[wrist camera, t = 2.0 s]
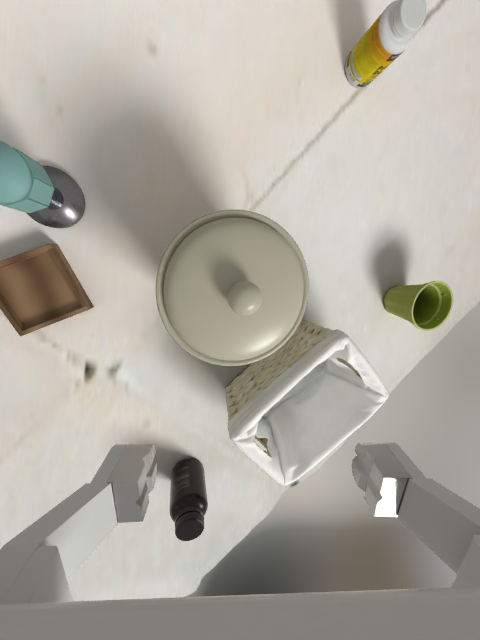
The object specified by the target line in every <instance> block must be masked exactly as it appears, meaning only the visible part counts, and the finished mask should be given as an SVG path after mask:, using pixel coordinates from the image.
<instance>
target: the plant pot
mask: <svg viewBox="0 0 480 640" xmlns="http://www.w3.org/2000/svg"><path fill="white" fill-rule="evenodd" d="M384 304H385V309H386V310H387V311H388V312H389V313H392V314H394V315H396V316H399V317H401V318H403V319H405V320H408V321H410V322H411V323H412V324H414V325H415V326H416V327H417V328H418V329H421V330H424V331H429V330H433V329H436V328H437V327H439V326H440V325H441V324H443V322H444V321H445V320H446V319H447V317H448V316H449V314H450V312H451V309H452V305H453V294H452V291H451V289H450V287H449V286H448V285H447V284H446V283H444V282H441V281H433V282H429V283H426V284H423V285H405V286H395V287H393V288H391V289H389V290H388V292H387V293H386V295H385V297H384Z"/></svg>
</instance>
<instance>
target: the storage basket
mask: <svg viewBox="0 0 480 640" xmlns="http://www.w3.org/2000/svg"><path fill="white" fill-rule="evenodd" d="M352 366H353V367H354V368H355V369H356V370H355V369H354V368H353V367H352ZM225 391H226V402H227V411H228V417H229V418H228V430H229V435H230V439H231V440H232V441H233V442H234V444H235V445H236V446H237V447H238V448H239V449H240V450H241V451H243V452H244V453H245V454H246V455H247V456H248V457H249V458H250V459H251V460H253V461H254V462H255V463H256V464H257V465H258V466H260V467H261V468H262V469H263V470H264V471H265V472H266V473H267V474H269V475H270V476H271V477H272V478H273V479H275V480H276V481H277V482H279V483H280V484H282V485H287V484H290V483H292V482H294V481H296V480H297V479H298V478H300V477H301V476H302V475H304V474H305V473H306V472H307V471H309V470H310V469H311V468H312V467H314V466H315V465H316V464H317V463H318V462H320V461H321V460H322V459H323V458H324V457H325V456H326V455H328V454H329V453H330V452H331V451H332V450H333V449H334V448H335V447H336V446H338V445H339V444H340V443H341V442H342V441H343V440H345V439H346V438H347V437H348V436H349V435H350V434H352V433H353V432H354V431H355V430H356V429H358V428H359V427H360V426H361V425H362V424H363V423H365V422H366V421H367V420H368V419H369V418H370V417H371V416H372V415H373V414H374V413H375V412H376V411H377V410H378V408H379V407H380V406H381V405H382V404H383V403H384V402H385V401H386V399H387V398H388V396H389V394H388V392H387V390H386V389H385V387H384V385H383V383H382V381H381V380H380V378H379V377H378V375H377V373H376V372H375V370H374V369H373V368H372V366H371V365H370V363H369V362H368V360H367V359H366V358H365V356H364V355H363V354H362V352H361V351H360V350H359V348H358V347H357V346H356V345H355V344H354V343H353V341H352V340H351V339H350V338H349V336H348V335H347V334H345V333H344V332H342V331H340V330H337V329H336V330H334V331H333V330H331V329H327V328H326V329H325V328H323V327H320V326H317V325H315V324H313V323H309V322H305V321H302V322H300V324H299V326H298V327H297V329H296V331H295V332H294V333H293V335H292V336H291V337H290V338H289V340H288V341H287V342H286V343H285V344H284V345H283V346H282V347H280V348H279V349H278V350H277V351H275V352H274V353H272V354H271V355H269V356H267V357H266V358H264V359H261V360H259V361H256V362H253V363H251V364H250V366H249V367H247V369H246V370H245V371H244V372H243V373H242V374H241V375H240V376H239V375H238V377H236V378H235V379H234V380H233V382H232V383H230V384H229V385H228V386H227V387H226V388H225ZM254 438H255V439H257V440H258V441H259V442H260V443H261V444H262V445H263V446H264V447H265V448H266V449H267V452H266V451H262V450H261V449H260V448H259V446H258V445H257V444H256V443H255V441H254ZM266 453H267V454H268V455H267V454H266Z"/></svg>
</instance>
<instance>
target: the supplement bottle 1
mask: <svg viewBox="0 0 480 640" xmlns="http://www.w3.org/2000/svg"><path fill="white" fill-rule="evenodd" d="M207 507H208V502H207V493H206V484H205V475H204V468H203V465H202V464H201V463H200V462H199V461H198V460H195V459H185V460H183V461H180V462H179V463H178V464H177V465H176V466H175V467H174V468H173V470H172V474H171V493H170V516H171V518H172V520H173V521H174V522H175V534H176V536H177V538H178V539H180V540H182V541H189V540H193V539H195V538H197V537H198V536H199V535H201V533H202V531H203V529H204V515H205V513H206V511H207Z"/></svg>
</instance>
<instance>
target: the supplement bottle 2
mask: <svg viewBox="0 0 480 640" xmlns="http://www.w3.org/2000/svg"><path fill="white" fill-rule="evenodd" d="M425 16H426V2H425V0H397V1H394V2H392V3H391V4H389V5H388V6H387V7H386V9H385V10H384V11H383V12H382V14H381V15H380V16H379V17H378V19H377V20H376V21H375V22H374V24H373V25H372V26H371V27H370V29H369V30H368V31H367V32H366V33H365V35H364V36H363V37H362V38H361V40H360V41H359V42H358V43H357V45H356V46H355V47H354V48H353V50H352V51H351V52H350V54H349V56H348V58H347V61H346V76H347V79H348V81H349V82H350V84H351V85H353V86H354V87H356V88H363V87H365V86H367V85H368V84H369V83H370V82H372V81H373V80H374V79H375V78H376V77H377V76H378V75H379V74H380V73H381V72H382V71H383V70H384V69H385V68H386V67H388V66H389V65H390V64H391V63H392V62H393V61H394V60H395V59H396V58H397V57H398V56H399V55H400V54H401V53H403V52H404V51H405V49H406V48H407V47H408V46H409V45H410V43H411V41H412V39H413V37H414V33H415V32H416V31H417V30H418V29H419V28H420V26H421V25H422V24H423V22H424V20H425Z"/></svg>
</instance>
